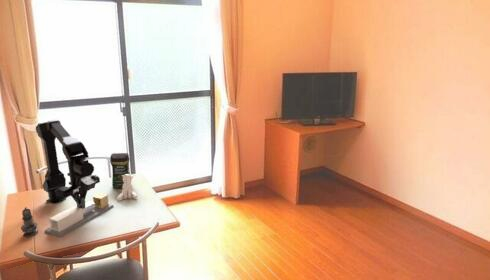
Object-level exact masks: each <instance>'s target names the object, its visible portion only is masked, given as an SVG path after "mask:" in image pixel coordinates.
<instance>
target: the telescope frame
mask: <svg viewBox="0 0 490 280" xmlns="http://www.w3.org/2000/svg"><path fill="white" fill-rule="evenodd" d="M92 199H93V201H92V202H93V203H94V204H95V209H94V210H92V211H90V212H88V213H87V214H85V215H83V210H82V208H79V207H77V206H76V205H73V206H71V207H70V208H68V209H66V210H65V209H64V211H61V212H60V213H57V214H56V215H53V216H51V217H49V218H48V219H49V224H50V226H49V227H47V228H45V229H44V232H45V233H47V234H49V235H53V236H55V237H58V238H62V237H63V236H65V235H66V234H68V233H70V232H72V231H73V230H75V229H77V228H79V227H80V226H82V225H84V224H86V223H88V222H90V221H91V220H93V219H94V218H96V217H99V216H100V215H102V214H103V213H105V212H107V211H108V210H111V209H112V208H114V204H111V203H109V196H108V194H105V193H101V192H100V193H97V194H95V195H93V196H92Z"/></svg>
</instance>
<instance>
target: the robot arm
mask: <svg viewBox="0 0 490 280" xmlns="http://www.w3.org/2000/svg"><path fill="white" fill-rule="evenodd" d="M35 132H36V134H37V136H38V138H39V139H40V140H42V144H43V149H44V155H45V161H46V168H47V170H46V173H45V175H44V182H43V184H42V189H43V190H44V191H45V192H46V193H47V196H48V199H46V202H47V203H51V204H57V203H60V202H62V201H65V200H66V199H67V198H69V197H71V198H72V199H73V200H74V202H75V203H76V205H77V204H78V205H80V198H79V196H83V197H85V199H86V197H87V194H88V191H91V190H92V189H95V188H96V184H99V183H100V182H101V179H100V177H99V176H98V175H97V174H93V173H94V171H95V166H94V165H93V164H92V163H90V161H89V159H88V158H89V157H90V156H89V152H88V150H87V148H86V147H85V145H84V143H83V142H81V140H79V139H78V138H76V137H73V136H71V134H70V133H69V132H68V131H67V130H66V128H65V127H64V126H63V125H62V123H61V121H60V119H52V120H47V121H44V122H39V123H37V125H35ZM56 140H58V142H59V144H61V146H62V147H61V148H62V149H61V150H62V153H63V155H64V156H65V159H66V160H67V165H68V172H67V176H68V177H69V180H70V181H69V182H68V185H69V186H66V185H67V183H66V181H67V180H66V177H65V174H64V173H63V172H62V171H61V170H60V167H59V162H58V154H57V146H56Z"/></svg>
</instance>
